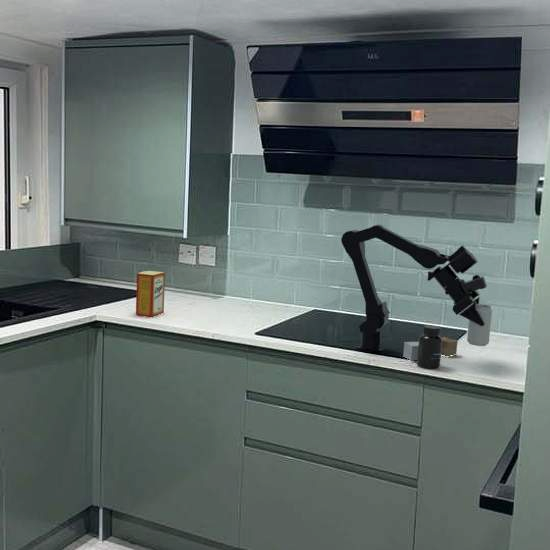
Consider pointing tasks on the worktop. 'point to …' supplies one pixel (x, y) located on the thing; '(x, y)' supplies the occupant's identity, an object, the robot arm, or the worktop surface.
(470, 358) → the worktop surface
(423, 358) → the supplement bottle
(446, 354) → the walnut block
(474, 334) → the beverage can
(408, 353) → the grey plastic block
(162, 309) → the baking soda box
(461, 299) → the robot arm
